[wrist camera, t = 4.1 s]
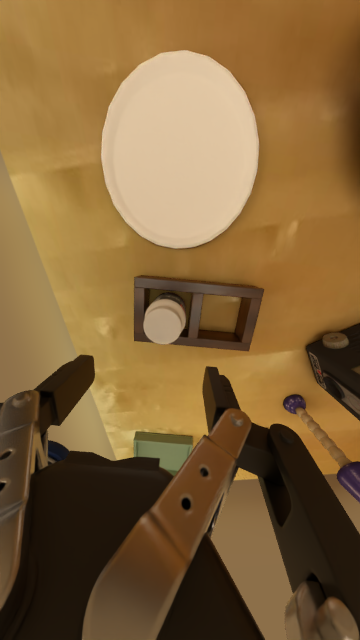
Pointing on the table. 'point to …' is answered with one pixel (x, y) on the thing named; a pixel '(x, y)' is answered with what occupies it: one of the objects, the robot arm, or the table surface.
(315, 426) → the toy lamp
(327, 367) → the camera
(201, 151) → the plate
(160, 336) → the pill bottle
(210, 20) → the table surface
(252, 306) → the rack
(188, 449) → the tray
